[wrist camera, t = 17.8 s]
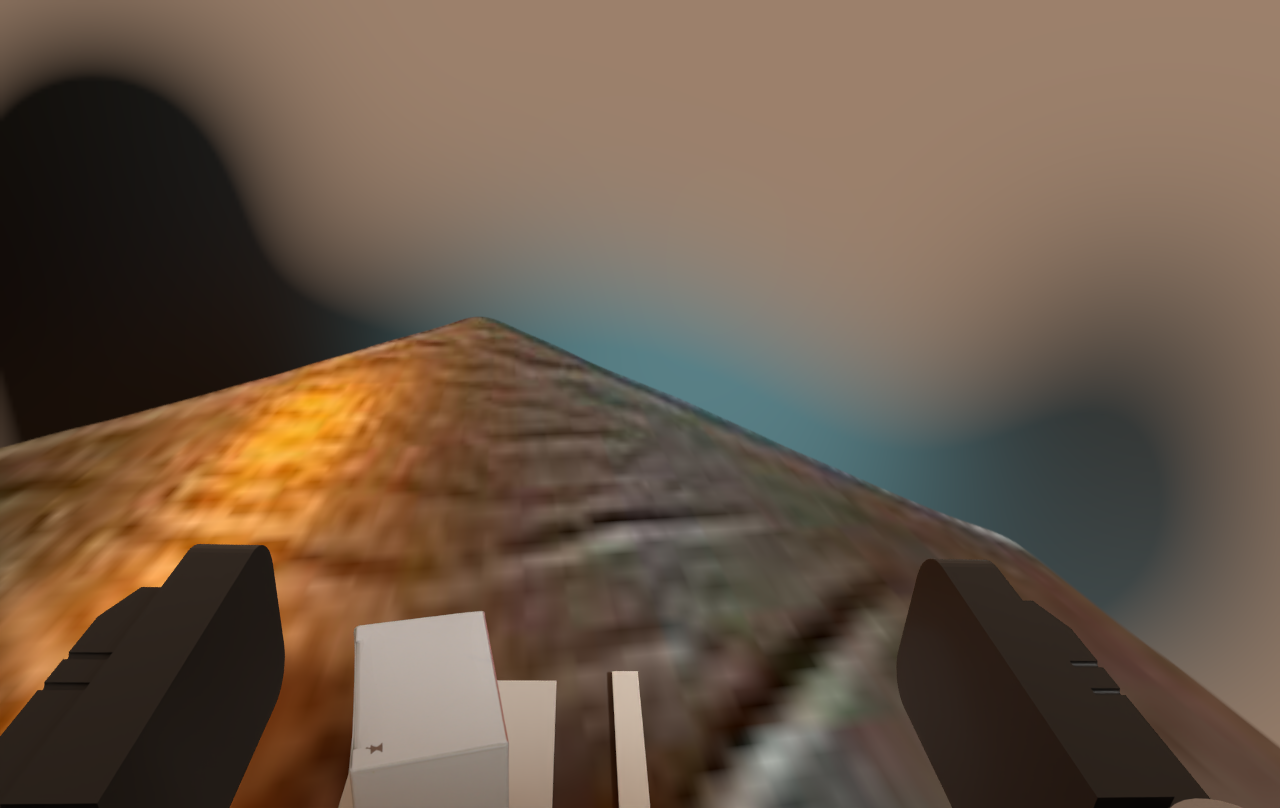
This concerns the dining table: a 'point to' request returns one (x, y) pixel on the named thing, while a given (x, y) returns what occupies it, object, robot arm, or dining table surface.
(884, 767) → the dining table surface
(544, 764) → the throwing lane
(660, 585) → the dining table surface
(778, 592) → the dining table surface
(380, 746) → the small box
